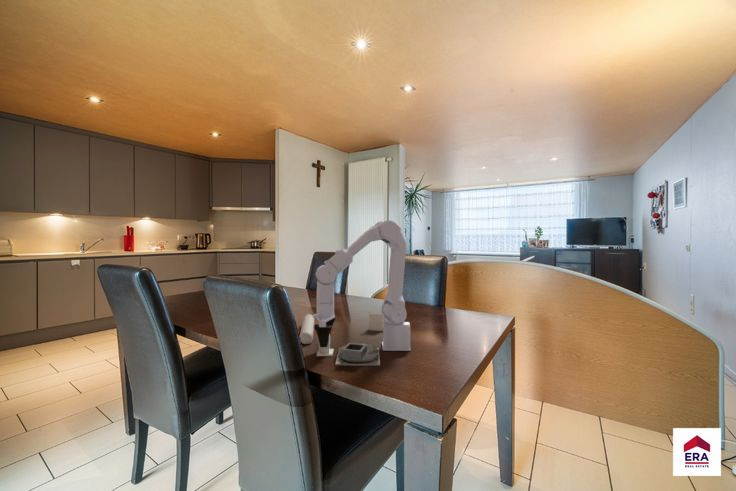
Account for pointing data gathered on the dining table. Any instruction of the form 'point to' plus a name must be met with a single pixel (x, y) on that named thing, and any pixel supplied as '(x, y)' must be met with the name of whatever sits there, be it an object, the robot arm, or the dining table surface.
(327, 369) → the dining table surface
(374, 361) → the chuck base
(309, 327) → the tube
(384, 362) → the dining table surface
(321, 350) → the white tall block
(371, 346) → the grey base plate
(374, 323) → the grey square block
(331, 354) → the felt pad
